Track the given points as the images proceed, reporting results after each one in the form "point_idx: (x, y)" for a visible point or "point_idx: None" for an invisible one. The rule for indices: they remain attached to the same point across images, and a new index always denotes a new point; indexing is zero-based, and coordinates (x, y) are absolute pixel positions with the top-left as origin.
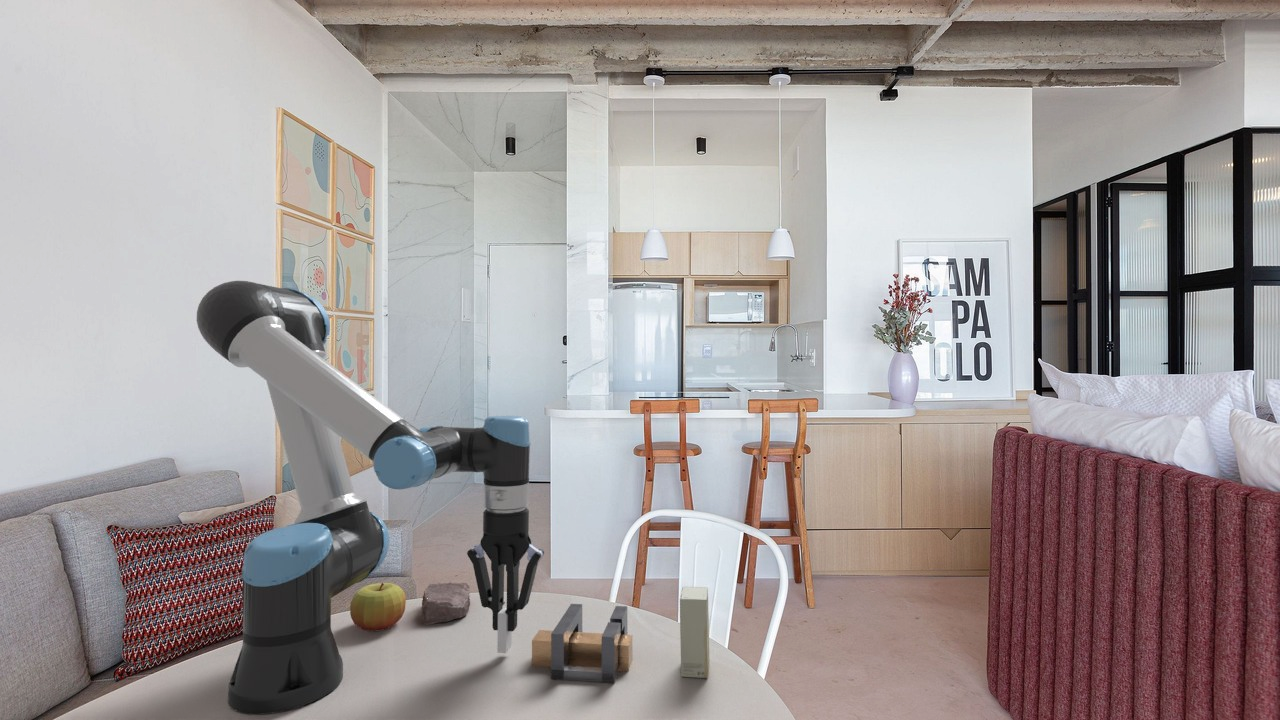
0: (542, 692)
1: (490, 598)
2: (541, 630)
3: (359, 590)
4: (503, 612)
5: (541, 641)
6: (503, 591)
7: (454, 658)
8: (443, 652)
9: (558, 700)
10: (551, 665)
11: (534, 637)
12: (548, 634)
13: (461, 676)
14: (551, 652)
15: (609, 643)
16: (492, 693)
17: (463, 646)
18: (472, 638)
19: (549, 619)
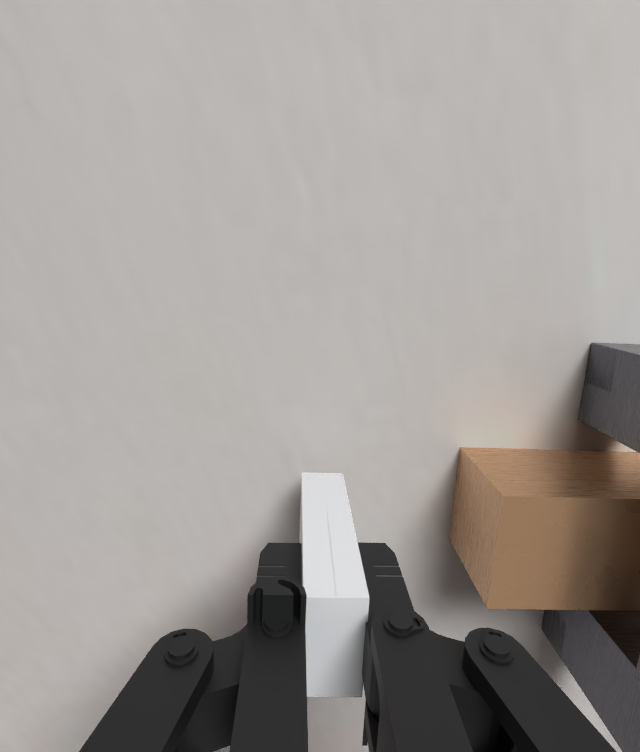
0: None
1: (201, 719)
2: (515, 498)
3: None
4: (335, 685)
5: (534, 608)
6: (305, 725)
7: (111, 521)
8: (33, 476)
9: None
10: (570, 671)
11: (494, 580)
12: (560, 539)
13: None
14: (602, 718)
15: None
16: (361, 724)
17: (93, 412)
18: (94, 325)
19: (435, 25)
